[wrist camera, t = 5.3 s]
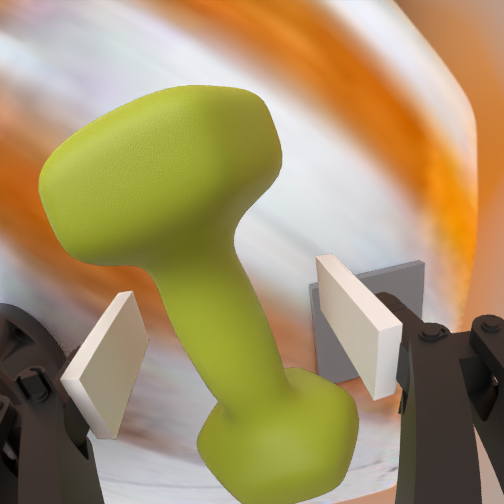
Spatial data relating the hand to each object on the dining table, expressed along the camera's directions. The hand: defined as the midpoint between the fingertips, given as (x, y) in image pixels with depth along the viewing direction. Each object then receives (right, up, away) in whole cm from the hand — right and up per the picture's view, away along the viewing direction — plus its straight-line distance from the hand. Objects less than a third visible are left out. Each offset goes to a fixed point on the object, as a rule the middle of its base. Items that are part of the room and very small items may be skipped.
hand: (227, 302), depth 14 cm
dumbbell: (0, 0, +1) cm, 1 cm away
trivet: (+13, -5, +16) cm, 22 cm away
